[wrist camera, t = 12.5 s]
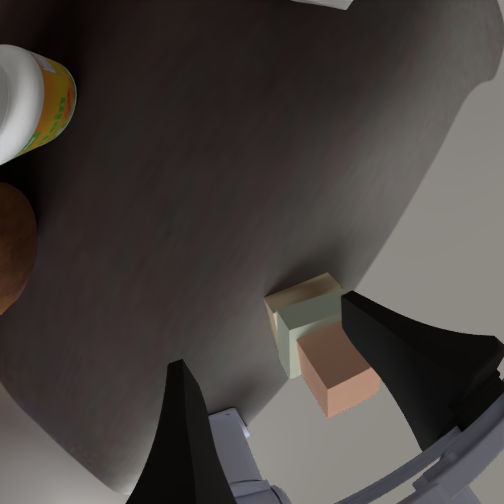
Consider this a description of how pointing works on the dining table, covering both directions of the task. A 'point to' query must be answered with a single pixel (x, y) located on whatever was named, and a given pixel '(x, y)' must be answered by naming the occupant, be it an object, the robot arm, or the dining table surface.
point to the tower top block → (304, 325)
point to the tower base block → (298, 297)
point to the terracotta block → (335, 370)
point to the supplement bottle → (32, 101)
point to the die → (329, 3)
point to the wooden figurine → (15, 243)
